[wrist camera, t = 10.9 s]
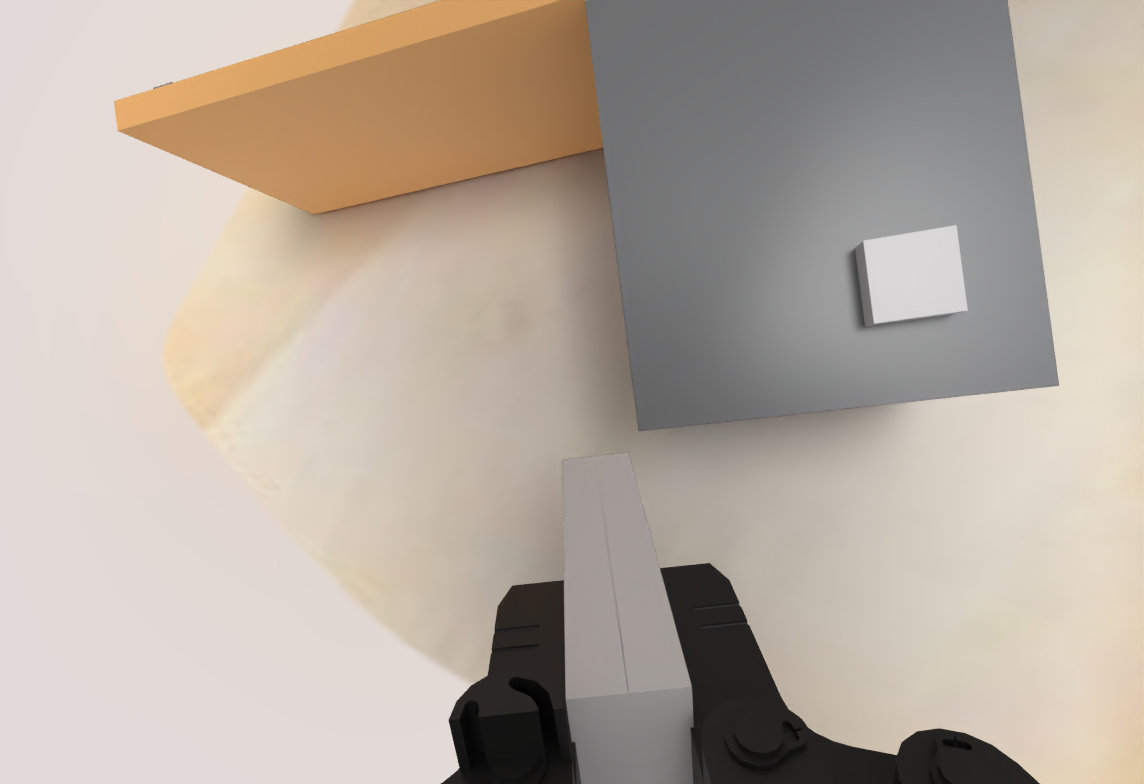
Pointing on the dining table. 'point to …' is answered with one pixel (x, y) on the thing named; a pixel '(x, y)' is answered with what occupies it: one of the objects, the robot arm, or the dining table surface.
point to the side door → (387, 104)
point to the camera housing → (818, 204)
